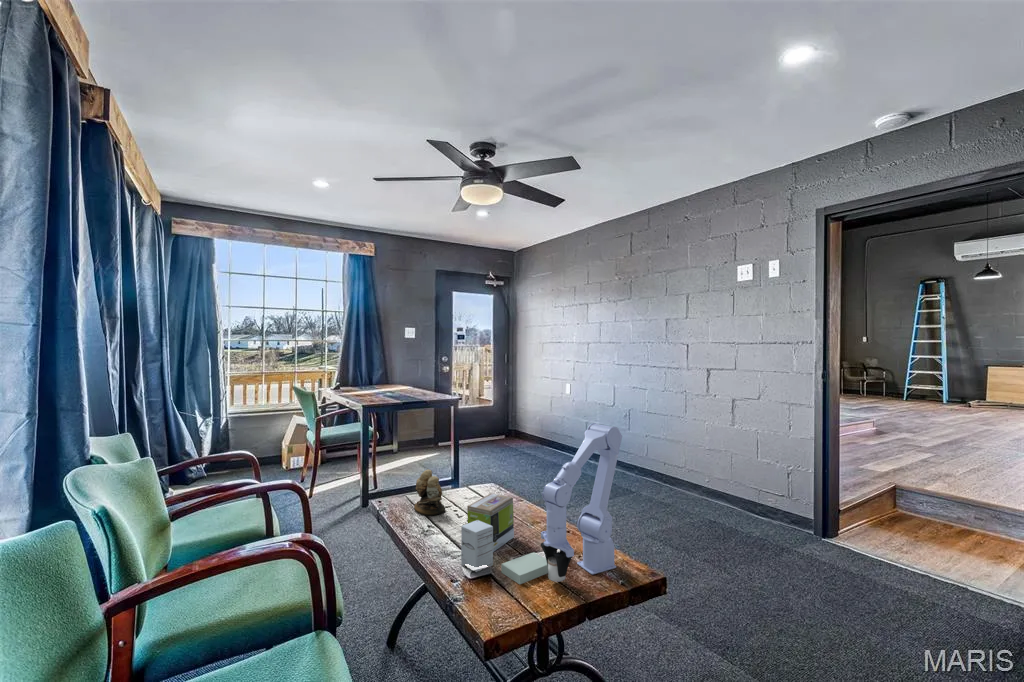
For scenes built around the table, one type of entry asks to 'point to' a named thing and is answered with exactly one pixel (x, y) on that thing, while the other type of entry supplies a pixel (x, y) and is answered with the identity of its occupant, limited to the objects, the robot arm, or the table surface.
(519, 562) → the sage book
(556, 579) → the cream cup
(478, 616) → the table surface
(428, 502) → the brown rock sculpture
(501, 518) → the tea box
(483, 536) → the supplement box
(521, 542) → the table surface
